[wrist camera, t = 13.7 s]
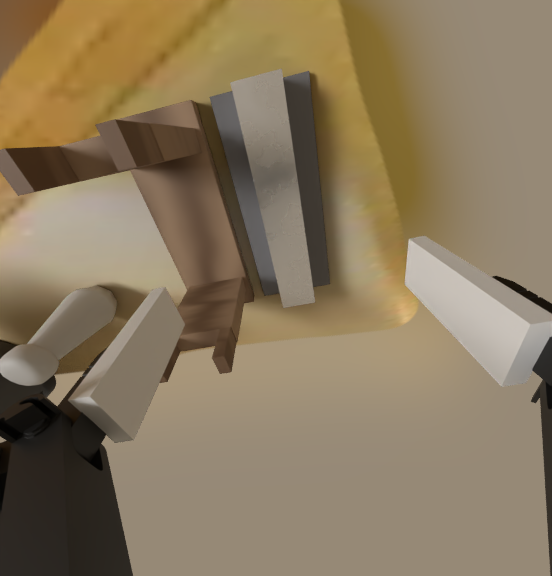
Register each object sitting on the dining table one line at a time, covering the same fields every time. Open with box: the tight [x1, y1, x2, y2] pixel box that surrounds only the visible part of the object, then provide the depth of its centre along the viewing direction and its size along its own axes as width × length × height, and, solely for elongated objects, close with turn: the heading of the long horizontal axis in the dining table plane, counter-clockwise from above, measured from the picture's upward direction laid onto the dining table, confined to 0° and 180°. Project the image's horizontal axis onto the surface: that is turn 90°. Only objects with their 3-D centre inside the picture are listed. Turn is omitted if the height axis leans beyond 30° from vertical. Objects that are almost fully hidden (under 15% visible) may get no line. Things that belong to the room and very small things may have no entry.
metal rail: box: [230, 69, 315, 308], centre depth 25 cm, size 4×22×4 cm, turn 12°
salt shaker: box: [0, 286, 117, 386], centre depth 28 cm, size 6×6×13 cm
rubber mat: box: [210, 71, 330, 296], centre depth 27 cm, size 9×22×1 cm, turn 12°
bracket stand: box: [0, 100, 254, 383], centre depth 22 cm, size 8×22×14 cm, turn 12°
